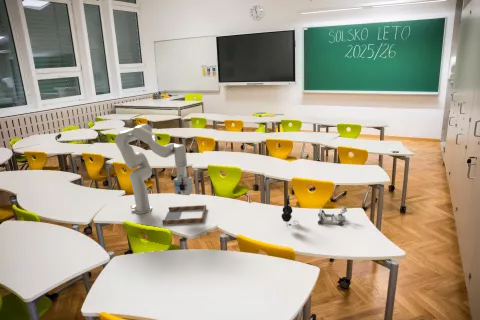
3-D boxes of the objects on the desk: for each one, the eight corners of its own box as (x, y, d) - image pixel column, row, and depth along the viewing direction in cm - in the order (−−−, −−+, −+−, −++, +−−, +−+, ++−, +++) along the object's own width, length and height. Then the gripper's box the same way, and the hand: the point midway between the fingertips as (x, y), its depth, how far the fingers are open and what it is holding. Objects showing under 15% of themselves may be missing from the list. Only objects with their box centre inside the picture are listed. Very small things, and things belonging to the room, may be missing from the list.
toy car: (347, 204, 215) (348, 212, 204) (346, 218, 218) (347, 226, 207) (318, 202, 219) (317, 210, 209) (318, 216, 222) (317, 224, 211)
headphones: (300, 232, 203) (299, 201, 197) (281, 231, 206) (280, 201, 200) (300, 220, 217) (300, 191, 211) (283, 219, 220) (282, 191, 214)
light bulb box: (174, 194, 227) (173, 179, 224) (179, 190, 233) (177, 175, 230) (189, 195, 224) (187, 180, 221) (193, 191, 230) (192, 176, 227)
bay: (162, 224, 224) (161, 220, 223) (168, 210, 244) (168, 207, 243) (203, 222, 223) (202, 218, 222) (206, 208, 243) (206, 205, 243)
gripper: (177, 159, 231) (180, 183, 236) (172, 167, 214) (175, 193, 219) (188, 159, 231) (190, 182, 236) (184, 167, 214) (187, 192, 219)
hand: (183, 187), depth 228 cm, fingers closed on light bulb box, 8 cm apart
